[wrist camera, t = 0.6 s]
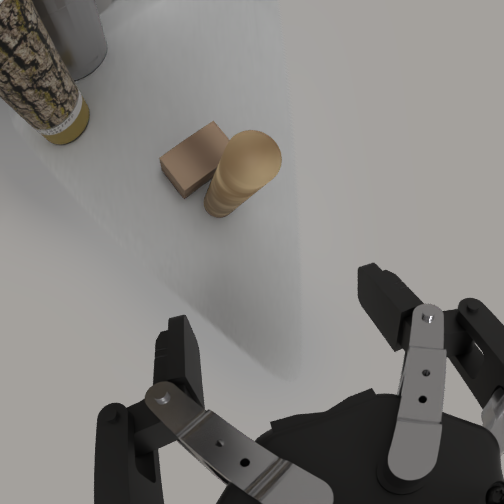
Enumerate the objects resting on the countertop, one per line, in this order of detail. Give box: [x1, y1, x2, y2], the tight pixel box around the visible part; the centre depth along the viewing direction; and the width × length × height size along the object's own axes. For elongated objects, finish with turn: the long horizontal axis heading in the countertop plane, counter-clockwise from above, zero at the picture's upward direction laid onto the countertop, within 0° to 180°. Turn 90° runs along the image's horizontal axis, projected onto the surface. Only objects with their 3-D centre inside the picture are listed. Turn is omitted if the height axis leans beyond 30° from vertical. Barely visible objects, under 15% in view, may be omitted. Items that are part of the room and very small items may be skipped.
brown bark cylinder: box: [0, 0, 89, 144], centre depth 20 cm, size 7×7×25 cm
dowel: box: [204, 130, 282, 218], centre depth 27 cm, size 4×4×18 cm
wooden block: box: [159, 121, 230, 199], centre depth 33 cm, size 7×4×5 cm, turn 129°
